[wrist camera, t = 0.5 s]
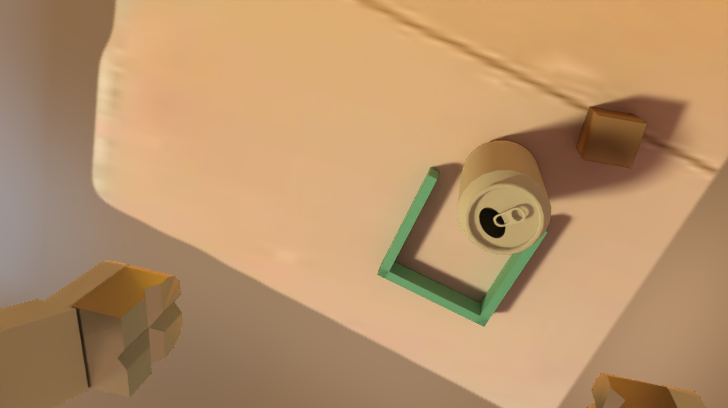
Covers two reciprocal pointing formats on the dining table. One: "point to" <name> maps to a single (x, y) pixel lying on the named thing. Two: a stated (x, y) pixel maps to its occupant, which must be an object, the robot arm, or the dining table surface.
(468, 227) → the can
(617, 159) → the walnut block
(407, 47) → the dining table surface
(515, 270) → the corral
